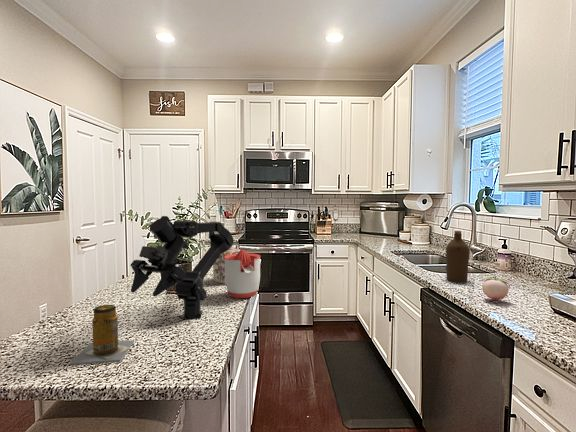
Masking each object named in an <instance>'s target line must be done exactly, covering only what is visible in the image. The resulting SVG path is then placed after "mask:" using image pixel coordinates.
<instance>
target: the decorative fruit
mask: <svg viewBox="0 0 576 432" xmlns="http://www.w3.org/2000/svg"><path fill="white" fill-rule="evenodd" d="M482 281H483V283H482V286H481V287H482V288H481V289H482V292H483V293H484V295H485V296H486V297H487V298H489V299H490V300H492V301H494V302H496V301H499V300H503V299H504V298H506V297H507V295H508V294H509V285H510V283H509V282H508V281H507V280H506V279H500V278H498V279H497V276H495V277H494V278H493V277H486V278H482Z"/></svg>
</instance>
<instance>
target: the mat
mask: <svg viewBox="0 0 576 432" xmlns="http://www.w3.org/2000/svg"><path fill="white" fill-rule="evenodd" d="M134 343H135V340H134V339H131V340H130V339H129V340H118V345H121V346H126V347H130V348H132V346H133V344H134ZM130 348H128V349H127V350H125V351H123V352H121V353H119V354H117V355H114V356H112V357H110V358H102V357H98V356H93V355H89V354H86V352H88V351H91V350H93V342H90V343H89V344H87V346H85V347H84V348H83V349H82V350H81V351H80V353H78V354H77V355H76V356H75V357H74V358H73V359H72V360H71V361H70V362H69V366H73V365H76V366H77V365H88V364H100V363H101V364H102V363H115V362H118V363H119V362H121V361H122V360H123V358H124V357H125V356H126V354H127V353H128V352H129V350H130Z"/></svg>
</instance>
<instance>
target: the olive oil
mask: <svg viewBox="0 0 576 432" xmlns="http://www.w3.org/2000/svg"><path fill="white" fill-rule="evenodd" d="M462 236H463V235H462V231H461V230H454V233H453V239H451V241H450V242H448V243H447V245H446V247H445V265H446V267H445V270H446V280H448V281H450V282H454V283H466V282H467V281H468V274H469V271H468V270H469V262H470V261H469V260H470V248H469V245H468V244H467V243H466V242H465V241H464V240H463V239H462Z"/></svg>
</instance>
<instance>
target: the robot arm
mask: <svg viewBox="0 0 576 432" xmlns="http://www.w3.org/2000/svg"><path fill="white" fill-rule="evenodd" d="M149 230H150V232H151V233H152V234H153V235H154V237H155V238H156V239H157V241H159V242H160V243H162V244H163V245H157V246H156V247H153V246H143V245H142V247H141V250H140V252H139V257H140V258H144V259H147V261H146V260H144V259H134V260H132V262H131V264H130V267H131V269H132V271H133V273H134V277H133V279H132V280H133V281H132V284H131V287H130V289H131V290H130V292H131V293H133V294H134V293H135V292H137V291H138V290H139V288H141V287H142V286H143V285H144V283H146V282H147V281H148V280H149V279H150V277H149V276H151V275H152V274H153V273H156V274H157V273H158V274H161V278H160V280H159V281H158V283H157V285H156V287H155V288H154V291H153V293H152V296H153V297H154V298H155V297H157V296H159V295H160V294H161V293H163V292H165V291H166V290H167V289H169V288H171V287H172V286H174V285H175V288H174V289H175V293H176V295H177V298H178V299H177V300H183V313H182V316H181V319H182V320H184V319H185V320H186V319H200V318H202V315H203V311H204V310H202V309H201V307H202V306H201V301H205V299H206V298H207V293H208V292H207V290H206V289H205V288H204V279H205V277H206V276H207V275H208V273H209V271H210V270H211V269H212V268H213V264H214V263H215V262H216V260H217V259H218V257H219V256H220V254H222V253H224V252H226V251H228V250H229V249H230V248H231V247H232V246H234V237H233V235H232V233H231V232H230V231H229V230H228V229H227V228H226V227H225V226H224V225H223V223H222V222H220V221H212V220H211V221H207V222H197V221H193V220H181V219H180V220H178V219H177V220H174V221H173V222H172V221H171V220H170V218H169V217H168V216H167V215H162V216H161V217H160V218H158V219H156V220H154V221H153V222H151V224H150V225H149ZM204 233H208V239H209V240H210V242H209V246H210V247H209V248H208V250H207V251H206V252H205V253H204V255H202V257H201V258H200V260H199V261H198V263H197V264H196V266H194V268H193V270H192V271H185V270H184V269H183V268H182V267H181V266H180V264H178V263H179V258H178V256H179V255H180V254H181V252H182V250H184V249H185V250H189V245H188V240H185V238H190V239H191V238H194V237H196V236H198V234H204Z"/></svg>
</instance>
